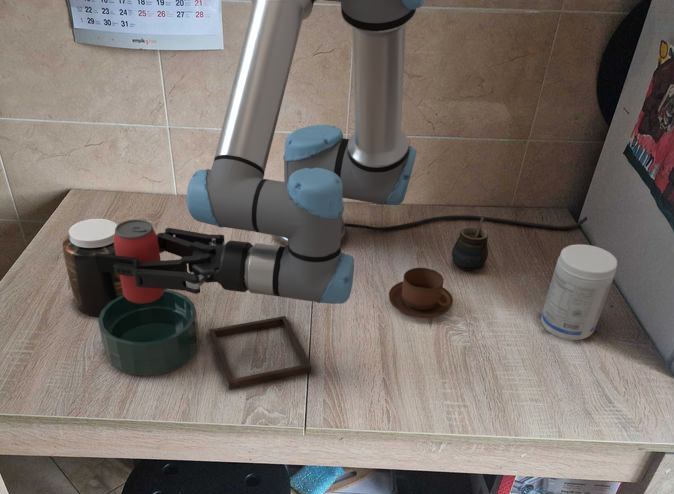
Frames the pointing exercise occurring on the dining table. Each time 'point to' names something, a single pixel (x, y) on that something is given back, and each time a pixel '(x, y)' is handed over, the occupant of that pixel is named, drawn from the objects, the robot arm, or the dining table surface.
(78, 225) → the jar
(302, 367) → the brown square frame
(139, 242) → the beer can
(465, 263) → the mate gourd
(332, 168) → the robot arm
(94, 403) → the dining table surface
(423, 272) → the cup and saucer
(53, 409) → the dining table surface
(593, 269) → the supplement tub
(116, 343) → the green bowl
